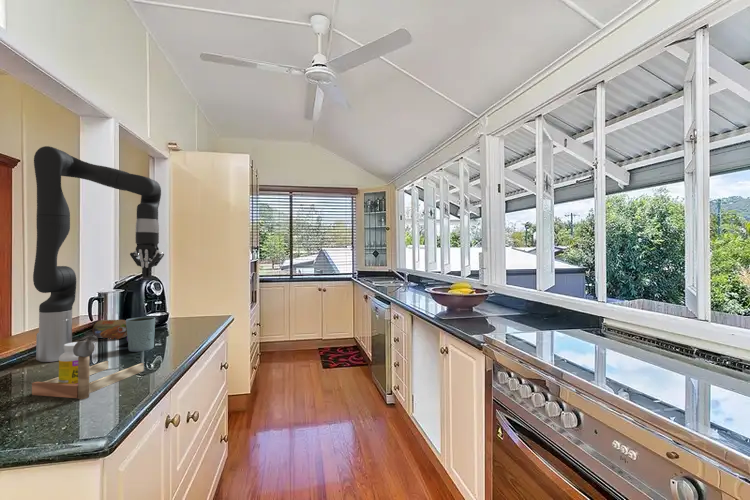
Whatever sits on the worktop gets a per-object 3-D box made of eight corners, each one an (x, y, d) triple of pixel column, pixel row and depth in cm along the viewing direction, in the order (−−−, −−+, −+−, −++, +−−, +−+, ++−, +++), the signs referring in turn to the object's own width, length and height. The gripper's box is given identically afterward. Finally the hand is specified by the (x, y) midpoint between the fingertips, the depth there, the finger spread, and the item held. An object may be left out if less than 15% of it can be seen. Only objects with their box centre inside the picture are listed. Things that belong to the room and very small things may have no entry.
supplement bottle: (70, 394, 104) (70, 347, 105) (52, 392, 106) (52, 345, 106) (94, 386, 111) (94, 341, 111) (76, 384, 113) (77, 340, 113)
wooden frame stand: (105, 368, 128) (106, 318, 128) (156, 371, 125) (156, 320, 125) (26, 396, 103) (27, 334, 103) (87, 401, 100) (88, 337, 100)
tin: (91, 339, 170) (92, 320, 170) (97, 337, 173) (97, 318, 173) (126, 339, 170) (126, 320, 170) (130, 337, 173) (131, 319, 173)
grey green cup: (156, 349, 152) (156, 319, 152) (125, 353, 147) (126, 321, 147) (153, 344, 161) (154, 315, 161) (125, 347, 155) (125, 318, 155)
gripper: (123, 231, 142) (123, 278, 142) (156, 231, 140) (155, 278, 140) (139, 232, 149) (138, 276, 149) (170, 232, 147) (169, 277, 147)
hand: (146, 277), depth 144 cm, fingers closed
